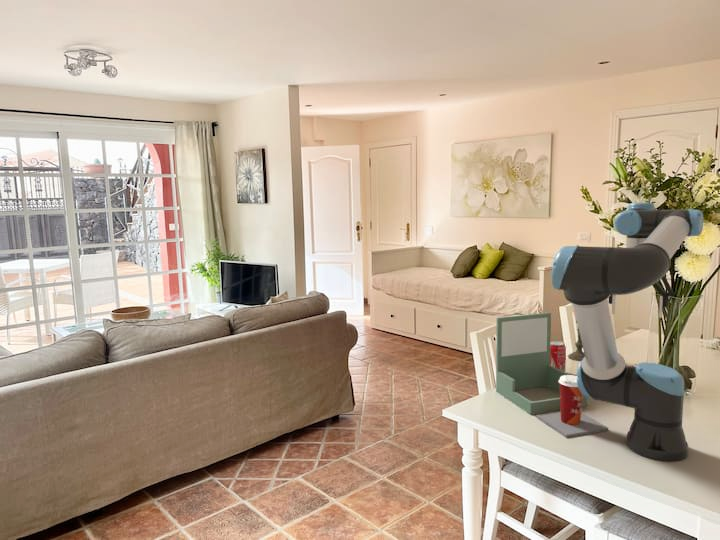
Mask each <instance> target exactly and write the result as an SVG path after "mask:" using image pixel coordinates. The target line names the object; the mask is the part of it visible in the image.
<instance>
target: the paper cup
mask: <svg viewBox="0 0 720 540" xmlns="http://www.w3.org/2000/svg"><path fill="white" fill-rule="evenodd" d="M558 382H559V383H560V392H559V398H560V410H559V411H561V421H562V422H563V423H565V424H569V425H577V424H579V423H580V419H581V412H582V410H583V409H582V408H583V407H582V399H583V394H582V393H581V392H580V390H579V388H578V385H577V375H572V374H567V375H563V376H561V377H560V379H559V381H558Z"/></svg>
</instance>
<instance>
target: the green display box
mask: <svg viewBox="0 0 720 540" xmlns="http://www.w3.org/2000/svg"><path fill="white" fill-rule="evenodd" d="M551 329H552V312H541V313H531V314H521V315H511V316H501V317H496V337H495V338H496V339H495V340H496V342H495V343H496V345H495V346H496V351H495V352H496V355H495V356H496V357H495V358H496V361H495V362H496V363H495V366H496V367H495V369H496V370H495V371H496V372H495V373H496V375H495V378H496V379H495V389H496V390H495V392H496V393H497V394H499V395H501V396H502V397H503V396H504V398H505V399H507V400H508V401H509V402H511V403H512V404H514V405H515V406H517V407H518V408H520V409H521V410H523V411H524V412H526V413H527V414H529V415H532V416H533V415H540V414H546V413H553V412H559V411H561V410H560V397H553V398H547V399H541V400H534V401H532V400H530V399H528V398H526V397H525V396H524V395H522V394H521V393H519V392H517V390H525V389H526V390H527V389H533V388H539V387H541V388H542V387H549V388H550V389H552V388H553V390H554V391H556V392H558V393H560V383H559V382H558V381H559V379H560V377H561V376H563V375H568V373H567V372H566V371H565V372H563V371H561V370H559V369H557V368H555V367H553V366H551V365H550V341H551ZM588 398H589V397H586V396H584V395H583V399H582V408H583V407H584V408H585V407H588Z"/></svg>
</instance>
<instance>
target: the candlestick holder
mask: <svg viewBox="0 0 720 540" xmlns="http://www.w3.org/2000/svg"><path fill="white" fill-rule="evenodd" d="M575 323H576V324H577V320H576V322H575ZM576 330H577V341H576V342H575V347H576V351H574V352H572V353H570V354H568V355H567V357H568V359H570V360H572V361H576V362H577V361H578V362H581V361H582V360H583V358H584V357H585V354H584V350H583V346H582V341H581V337H580V333H579V328H578V327H577V329H576Z"/></svg>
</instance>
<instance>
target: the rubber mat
mask: <svg viewBox="0 0 720 540" xmlns="http://www.w3.org/2000/svg"><path fill="white" fill-rule="evenodd" d="M535 418H536V419H538V420H539V421H540V422H542V423H544V424H545V425H546V426H548V427H549V428H551V429H552V430H554V431H555V432H557V433H559V434H560V435H562V437H565V438H571V437H578V436H583V435H589V434H595V433H601V432H606V431H609V427H608V426H606V425H604V424H603V423H601V422H600V421H597V420H595V419H594V418H592V417H591V416H588V415H587V414H585V413H583V412H582V411H581V419H580V423H579V424H577V425H569V424H565V423H563V422H562V421H561V410H559V411H553V412H547V413H540V414H535Z"/></svg>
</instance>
